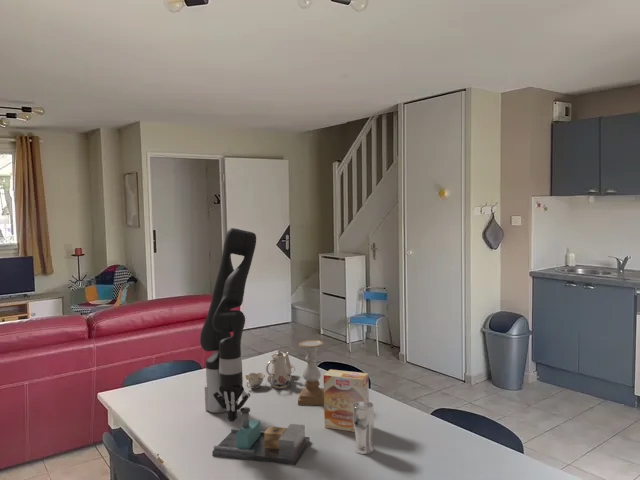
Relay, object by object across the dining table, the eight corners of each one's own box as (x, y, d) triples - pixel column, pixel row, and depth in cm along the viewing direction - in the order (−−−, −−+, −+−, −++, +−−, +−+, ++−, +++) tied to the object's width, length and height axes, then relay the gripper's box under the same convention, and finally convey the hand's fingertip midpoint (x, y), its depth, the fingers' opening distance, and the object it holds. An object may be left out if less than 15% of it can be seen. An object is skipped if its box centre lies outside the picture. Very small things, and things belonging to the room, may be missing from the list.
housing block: (264, 447, 167) (264, 432, 167) (270, 441, 172) (269, 426, 171) (282, 449, 165) (281, 434, 165) (287, 442, 170) (286, 427, 170)
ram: (234, 448, 166) (233, 415, 166) (248, 433, 177) (247, 402, 176) (248, 450, 165) (246, 416, 164) (260, 435, 176) (259, 403, 175)
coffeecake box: (324, 428, 184) (322, 374, 183) (330, 420, 191) (329, 368, 190) (364, 433, 179) (363, 379, 178) (369, 425, 185) (368, 372, 184)
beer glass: (351, 445, 170) (351, 401, 169) (372, 444, 171) (371, 400, 170) (355, 455, 163) (354, 409, 162) (376, 454, 164) (375, 408, 163)
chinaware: (282, 375, 248) (278, 341, 248) (309, 378, 238) (305, 342, 238) (240, 393, 226) (236, 355, 225) (268, 397, 216) (264, 357, 215)
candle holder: (327, 395, 216) (325, 339, 214) (324, 405, 205) (323, 346, 203) (301, 395, 217) (299, 339, 215) (297, 405, 206) (295, 346, 205)
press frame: (212, 455, 166) (211, 436, 165) (233, 434, 181) (232, 416, 181) (295, 464, 159) (294, 444, 158) (309, 441, 174) (309, 422, 174)
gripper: (253, 367, 173) (255, 417, 174) (217, 365, 176) (219, 414, 177) (244, 374, 165) (246, 427, 166) (207, 372, 169) (209, 423, 170)
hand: (232, 420), depth 172 cm, fingers closed
